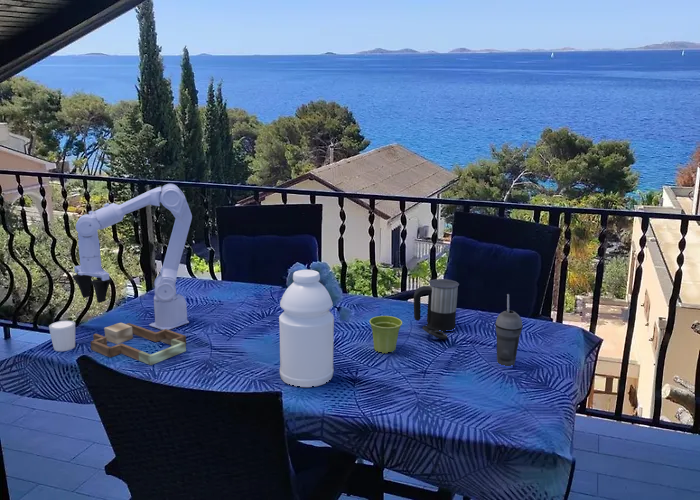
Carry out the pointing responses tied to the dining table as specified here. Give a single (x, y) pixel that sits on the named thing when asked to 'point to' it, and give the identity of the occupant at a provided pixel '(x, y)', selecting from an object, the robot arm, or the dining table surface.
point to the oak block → (118, 333)
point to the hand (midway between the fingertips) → (94, 299)
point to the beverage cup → (508, 336)
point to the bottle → (306, 332)
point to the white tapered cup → (63, 335)
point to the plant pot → (385, 332)
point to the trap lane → (163, 336)
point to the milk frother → (438, 306)
